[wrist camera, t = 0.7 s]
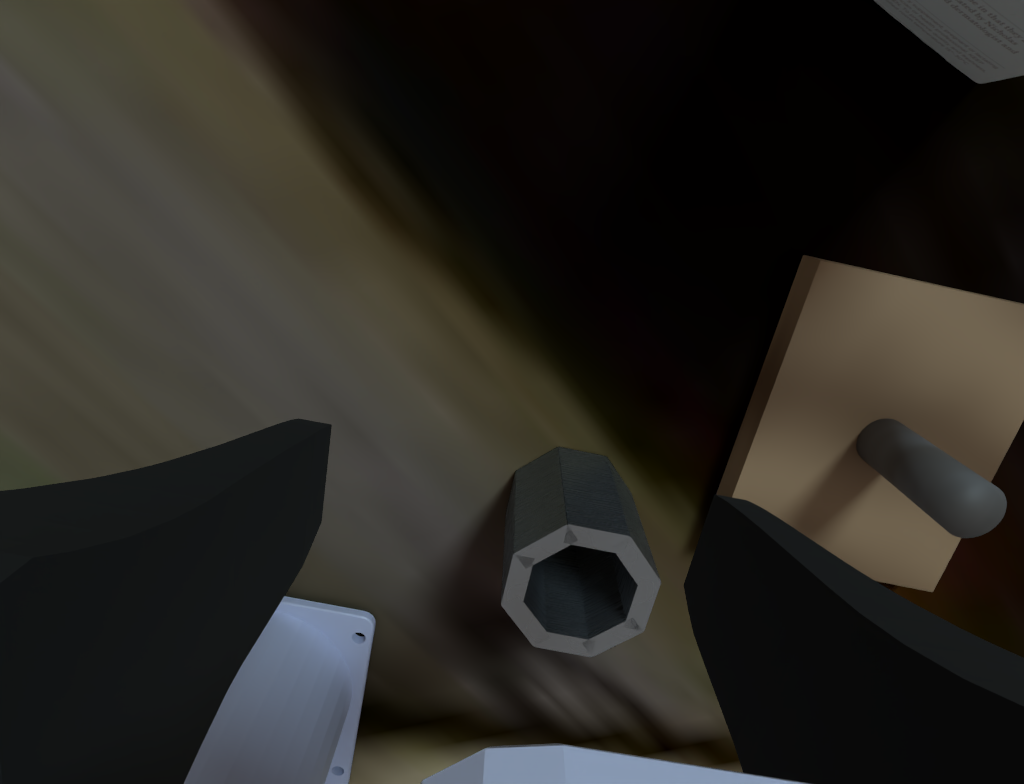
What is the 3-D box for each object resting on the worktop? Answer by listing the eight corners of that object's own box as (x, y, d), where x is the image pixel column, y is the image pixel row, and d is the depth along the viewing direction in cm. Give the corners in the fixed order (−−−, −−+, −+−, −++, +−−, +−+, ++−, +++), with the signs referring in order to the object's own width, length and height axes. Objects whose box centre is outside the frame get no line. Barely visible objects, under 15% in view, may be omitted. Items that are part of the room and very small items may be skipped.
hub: (609, 563, 23) (632, 664, 18) (498, 542, 23) (492, 639, 18) (641, 463, 22) (674, 544, 17) (523, 439, 21) (522, 515, 17)
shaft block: (912, 571, 23) (1026, 688, 18) (703, 530, 22) (757, 638, 17) (1045, 308, 20) (1234, 358, 14) (802, 254, 19) (906, 285, 14)
